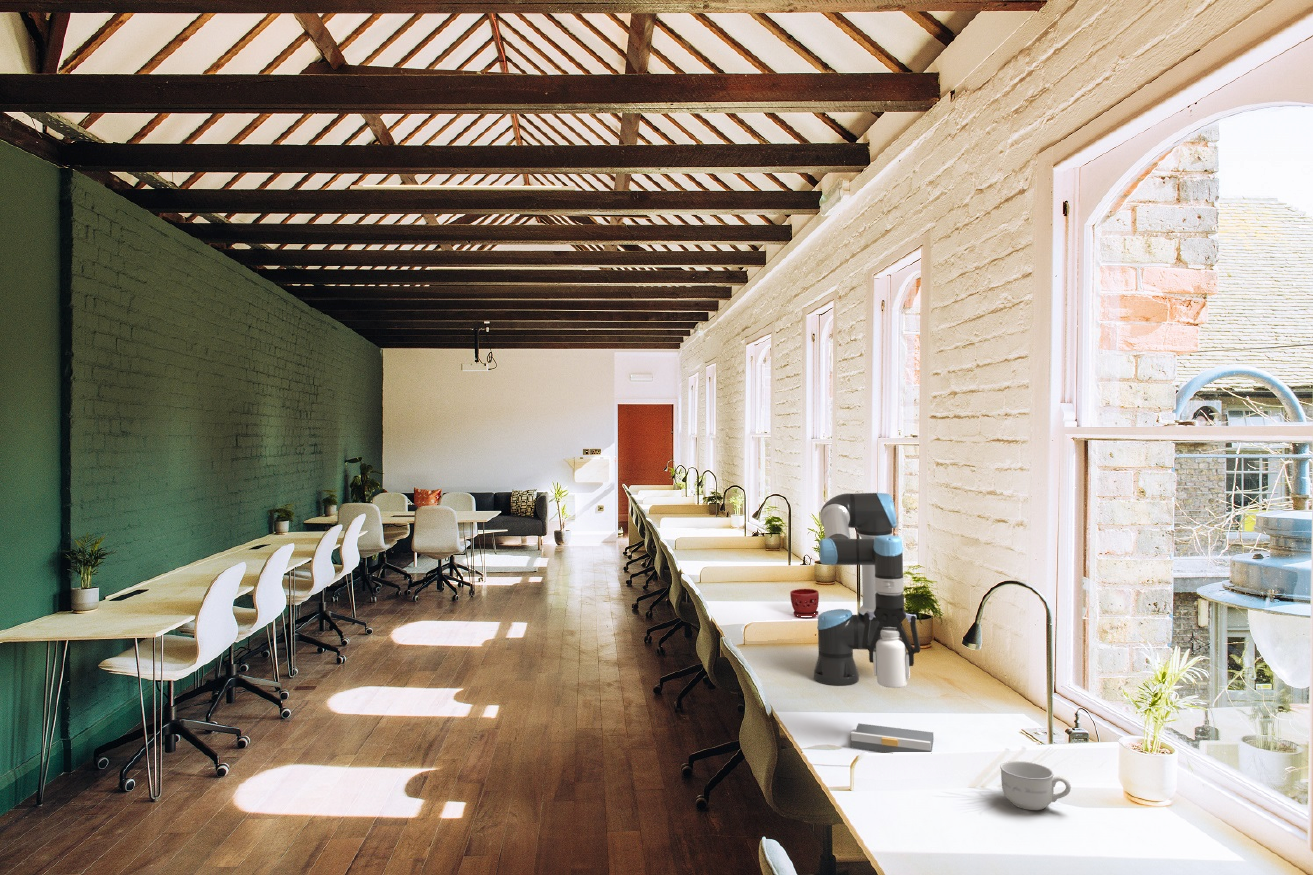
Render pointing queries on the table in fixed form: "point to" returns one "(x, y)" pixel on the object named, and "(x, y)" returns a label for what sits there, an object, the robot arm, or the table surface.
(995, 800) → the table surface
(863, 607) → the robot arm
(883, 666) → the pill bottle
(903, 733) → the shelf
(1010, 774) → the teacup
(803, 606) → the plant pot
